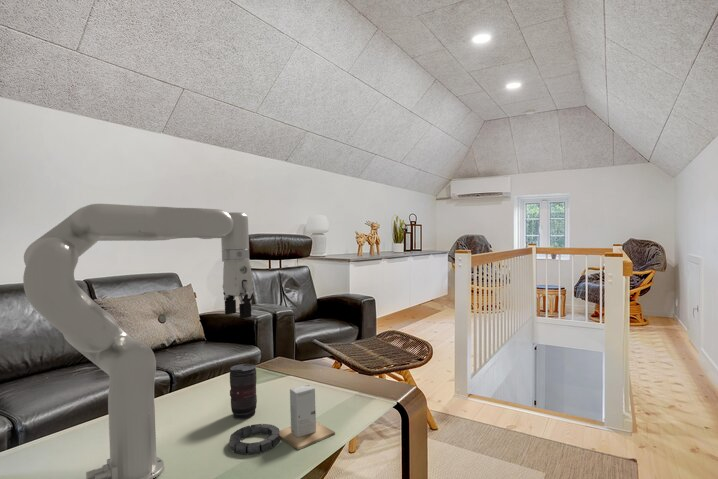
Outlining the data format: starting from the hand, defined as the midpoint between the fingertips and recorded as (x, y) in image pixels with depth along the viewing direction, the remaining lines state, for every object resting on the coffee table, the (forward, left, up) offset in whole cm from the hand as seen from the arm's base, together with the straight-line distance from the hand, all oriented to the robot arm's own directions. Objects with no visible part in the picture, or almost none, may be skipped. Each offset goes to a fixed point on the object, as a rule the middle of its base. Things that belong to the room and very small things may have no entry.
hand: (237, 315), depth 116 cm
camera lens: (+6, +11, -34) cm, 36 cm away
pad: (+12, -14, -33) cm, 38 cm away
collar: (0, -8, -33) cm, 34 cm away
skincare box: (+12, -14, -33) cm, 38 cm away
